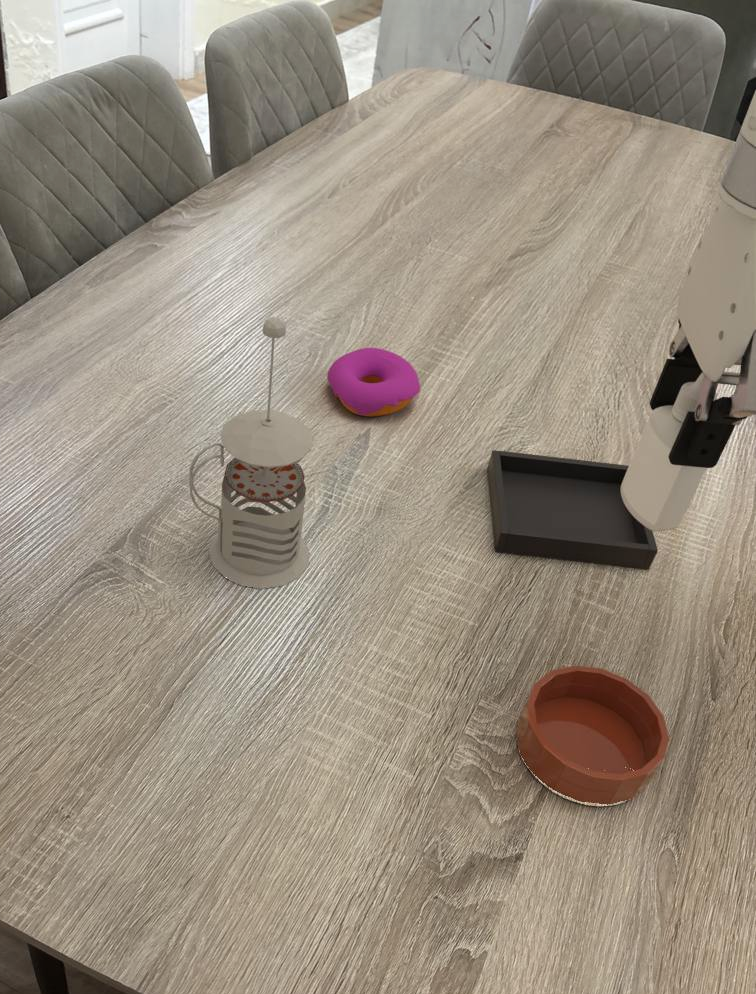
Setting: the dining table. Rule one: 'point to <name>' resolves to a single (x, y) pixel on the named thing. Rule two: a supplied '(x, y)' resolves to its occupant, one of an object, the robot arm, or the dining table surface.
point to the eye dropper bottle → (662, 467)
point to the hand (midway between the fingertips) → (681, 434)
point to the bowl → (591, 735)
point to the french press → (261, 493)
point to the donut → (373, 381)
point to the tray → (565, 511)
